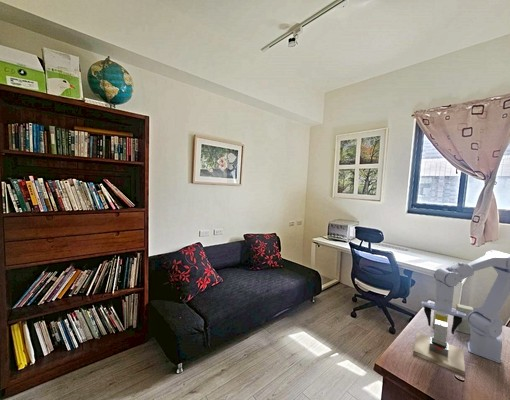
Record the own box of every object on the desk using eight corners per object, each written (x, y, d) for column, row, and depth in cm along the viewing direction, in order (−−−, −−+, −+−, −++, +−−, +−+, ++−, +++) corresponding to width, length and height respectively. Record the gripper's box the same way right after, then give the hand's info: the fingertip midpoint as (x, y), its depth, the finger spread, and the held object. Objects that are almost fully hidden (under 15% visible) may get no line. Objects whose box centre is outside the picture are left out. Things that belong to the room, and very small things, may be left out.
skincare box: (470, 330, 114) (473, 306, 113) (472, 335, 111) (475, 310, 110) (453, 326, 118) (456, 302, 117) (455, 330, 114) (457, 306, 113)
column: (445, 341, 97) (447, 323, 97) (445, 346, 94) (447, 327, 94) (433, 336, 100) (435, 319, 99) (433, 341, 97) (434, 323, 96)
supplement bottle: (448, 329, 114) (451, 310, 114) (436, 328, 115) (438, 309, 115) (442, 323, 120) (444, 305, 119) (430, 321, 121) (432, 303, 120)
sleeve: (447, 349, 98) (448, 342, 98) (447, 358, 93) (448, 351, 92) (429, 342, 102) (430, 336, 101) (429, 350, 96) (429, 344, 96)
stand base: (462, 352, 99) (462, 349, 98) (464, 375, 86) (465, 371, 86) (416, 335, 109) (417, 332, 109) (413, 353, 96) (413, 350, 96)
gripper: (421, 295, 99) (419, 325, 100) (467, 308, 90) (464, 341, 91) (423, 289, 104) (420, 318, 105) (466, 301, 95) (463, 332, 96)
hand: (440, 328), depth 98 cm, fingers open, 7 cm apart
